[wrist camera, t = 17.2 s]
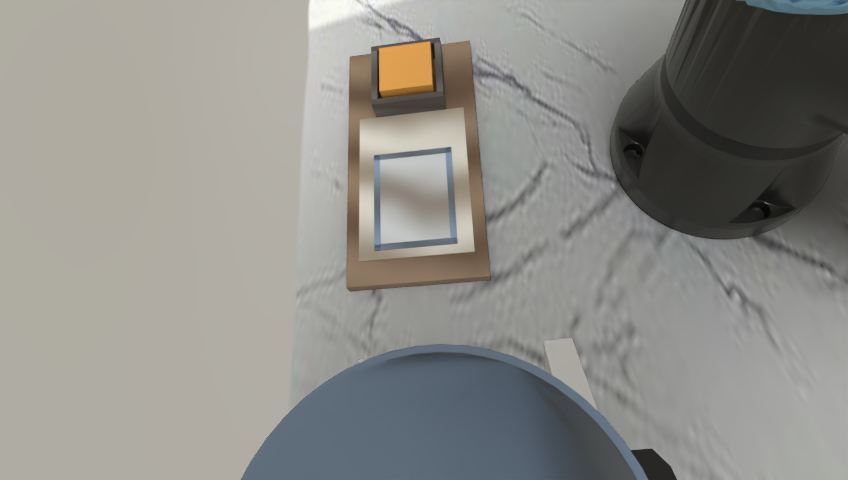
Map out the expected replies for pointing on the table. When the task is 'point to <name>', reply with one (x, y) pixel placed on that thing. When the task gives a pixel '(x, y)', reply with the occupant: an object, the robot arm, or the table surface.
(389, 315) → the table surface
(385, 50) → the button
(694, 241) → the table surface
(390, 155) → the wooden board
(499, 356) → the cup
